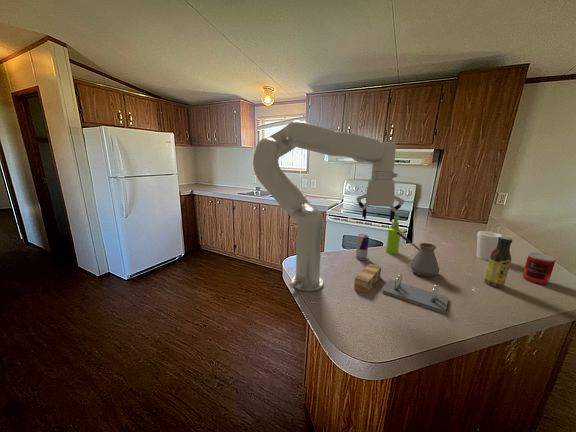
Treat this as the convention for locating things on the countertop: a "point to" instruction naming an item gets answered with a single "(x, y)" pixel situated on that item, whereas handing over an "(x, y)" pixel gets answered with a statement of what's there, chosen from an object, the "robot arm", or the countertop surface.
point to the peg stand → (417, 295)
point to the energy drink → (362, 246)
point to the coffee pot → (424, 259)
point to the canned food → (538, 268)
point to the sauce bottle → (499, 263)
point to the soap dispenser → (393, 237)
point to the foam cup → (486, 244)
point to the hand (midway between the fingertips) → (377, 219)
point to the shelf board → (367, 278)
